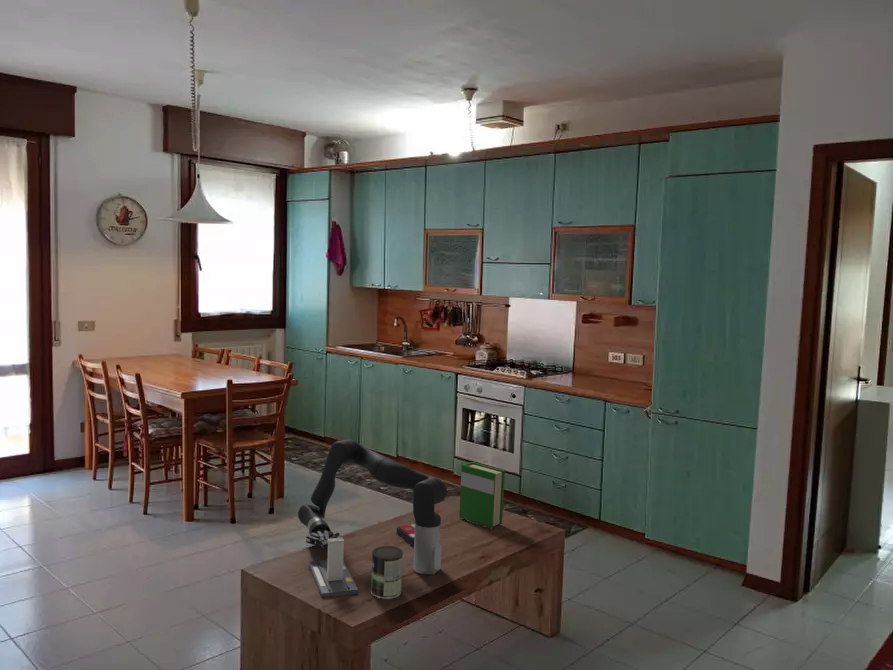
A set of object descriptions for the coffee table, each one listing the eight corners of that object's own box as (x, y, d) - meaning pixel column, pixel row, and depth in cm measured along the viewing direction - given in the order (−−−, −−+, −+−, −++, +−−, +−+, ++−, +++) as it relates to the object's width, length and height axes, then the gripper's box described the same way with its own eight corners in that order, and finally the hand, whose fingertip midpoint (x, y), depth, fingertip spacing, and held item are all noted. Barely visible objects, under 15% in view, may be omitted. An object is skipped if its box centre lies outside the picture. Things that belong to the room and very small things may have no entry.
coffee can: (367, 597, 239) (369, 556, 238) (374, 584, 249) (375, 544, 248) (398, 600, 238) (400, 559, 237) (403, 587, 248) (405, 547, 247)
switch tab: (326, 578, 248) (327, 538, 247) (341, 577, 250) (342, 537, 249) (327, 581, 246) (329, 541, 245) (343, 579, 248) (344, 540, 247)
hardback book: (502, 525, 312) (504, 470, 309) (491, 529, 306) (494, 473, 304) (469, 514, 323) (472, 461, 321) (459, 518, 318) (461, 464, 315)
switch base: (309, 565, 262) (309, 560, 262) (342, 562, 266) (342, 557, 266) (321, 597, 238) (321, 591, 238) (357, 593, 242) (358, 587, 242)
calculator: (420, 522, 302) (437, 532, 289) (420, 532, 302) (437, 543, 289) (396, 525, 297) (412, 536, 283) (396, 536, 297) (411, 547, 284)
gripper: (301, 521, 274) (309, 538, 258) (336, 518, 279) (345, 535, 263) (301, 540, 275) (308, 558, 259) (335, 537, 280) (345, 555, 263)
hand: (327, 546), depth 261 cm, fingers closed
